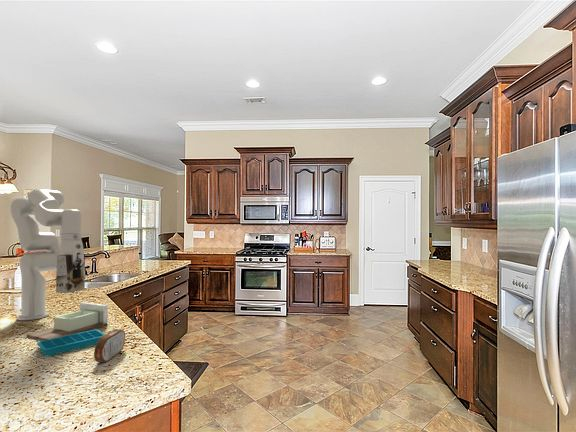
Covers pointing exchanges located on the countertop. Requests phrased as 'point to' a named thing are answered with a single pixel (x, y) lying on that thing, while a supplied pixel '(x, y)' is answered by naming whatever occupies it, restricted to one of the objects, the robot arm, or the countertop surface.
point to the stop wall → (98, 308)
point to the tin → (109, 345)
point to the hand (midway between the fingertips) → (71, 277)
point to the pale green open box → (75, 320)
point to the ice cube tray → (69, 342)
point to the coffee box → (68, 275)
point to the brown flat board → (60, 332)
